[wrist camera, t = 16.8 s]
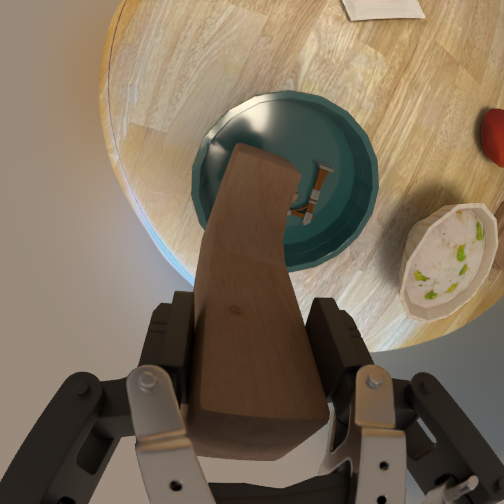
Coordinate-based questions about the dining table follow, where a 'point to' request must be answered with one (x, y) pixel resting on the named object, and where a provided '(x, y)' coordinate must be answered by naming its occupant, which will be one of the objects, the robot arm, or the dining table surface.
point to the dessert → (382, 9)
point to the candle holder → (500, 239)
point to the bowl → (446, 260)
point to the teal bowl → (298, 168)
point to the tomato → (494, 135)
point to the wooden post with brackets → (311, 195)
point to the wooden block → (250, 323)
